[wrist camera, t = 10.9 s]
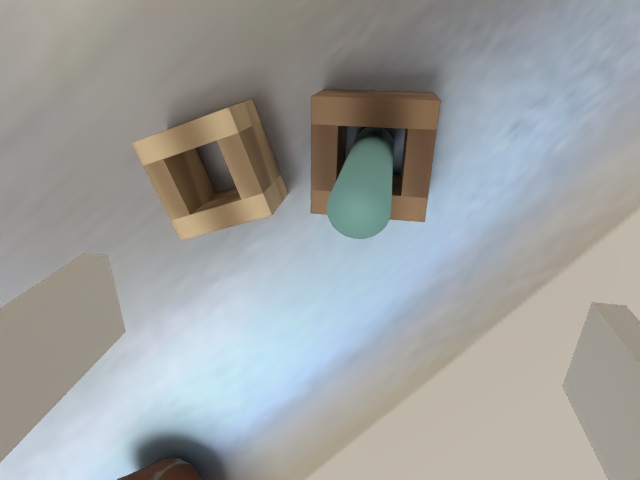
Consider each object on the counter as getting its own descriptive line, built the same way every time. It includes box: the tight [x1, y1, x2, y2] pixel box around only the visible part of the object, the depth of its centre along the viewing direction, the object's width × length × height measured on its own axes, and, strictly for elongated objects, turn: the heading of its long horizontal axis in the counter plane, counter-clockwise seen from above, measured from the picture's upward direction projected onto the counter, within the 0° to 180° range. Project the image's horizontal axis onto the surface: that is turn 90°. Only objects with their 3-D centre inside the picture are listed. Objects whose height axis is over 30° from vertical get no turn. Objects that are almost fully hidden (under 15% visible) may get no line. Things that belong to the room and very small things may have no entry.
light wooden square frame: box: [132, 99, 288, 240], centre depth 32 cm, size 8×8×5 cm
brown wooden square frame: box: [311, 89, 441, 222], centre depth 29 cm, size 8×8×5 cm
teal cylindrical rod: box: [327, 127, 394, 239], centre depth 25 cm, size 3×3×14 cm
